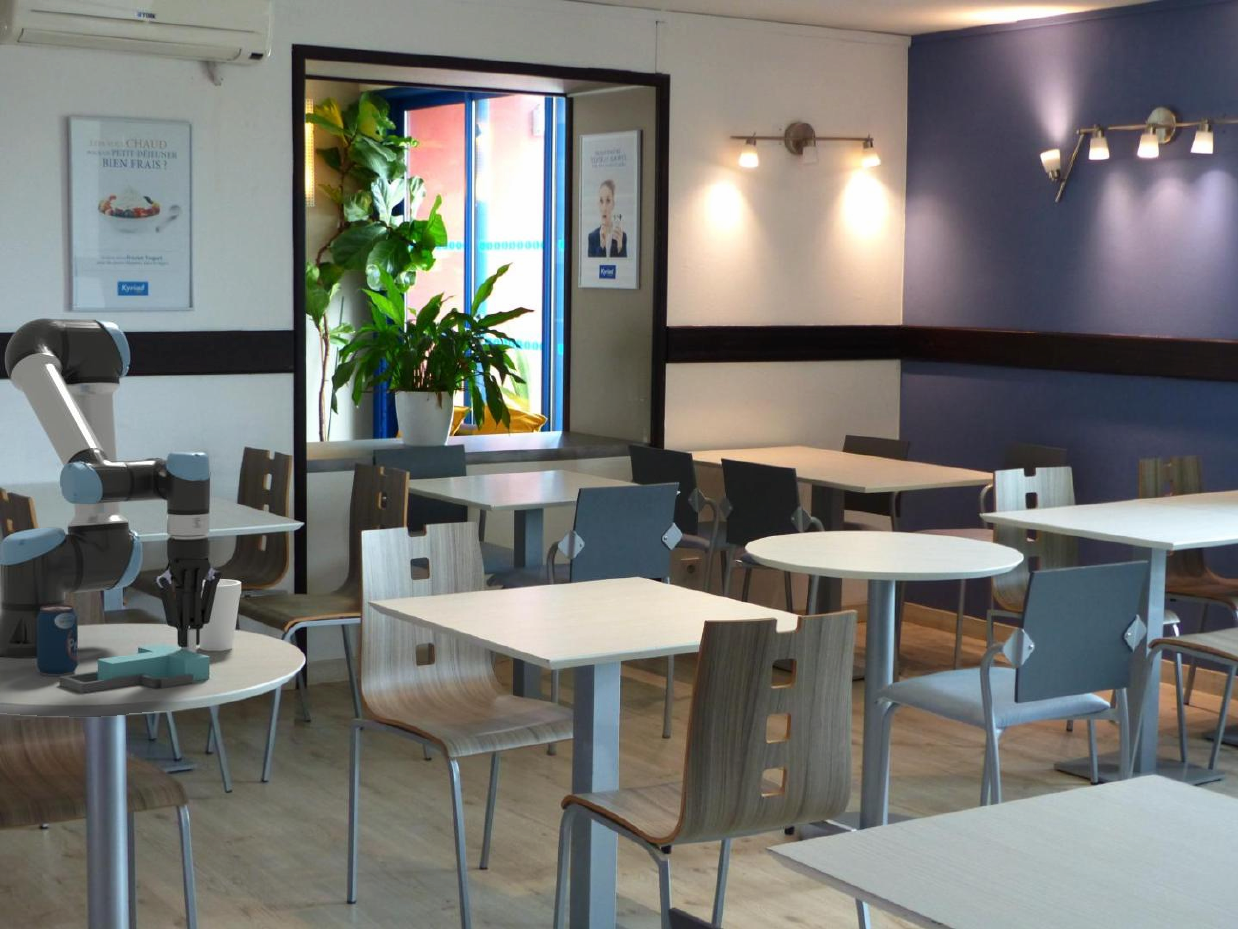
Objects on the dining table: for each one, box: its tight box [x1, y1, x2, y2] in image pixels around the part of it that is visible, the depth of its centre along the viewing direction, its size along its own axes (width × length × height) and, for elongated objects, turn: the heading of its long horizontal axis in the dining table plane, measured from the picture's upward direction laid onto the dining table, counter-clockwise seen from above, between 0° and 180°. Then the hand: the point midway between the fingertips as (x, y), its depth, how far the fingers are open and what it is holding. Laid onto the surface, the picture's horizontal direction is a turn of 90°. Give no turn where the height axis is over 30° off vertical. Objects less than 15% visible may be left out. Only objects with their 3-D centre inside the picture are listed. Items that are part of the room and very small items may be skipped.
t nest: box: [58, 670, 194, 694], centre depth 273 cm, size 18×19×2 cm
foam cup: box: [198, 578, 242, 652], centre depth 305 cm, size 10×9×13 cm
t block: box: [97, 643, 210, 682], centre depth 277 cm, size 16×16×4 cm
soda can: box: [36, 604, 79, 677], centre depth 279 cm, size 7×7×12 cm
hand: (188, 663), depth 283 cm, fingers closed
